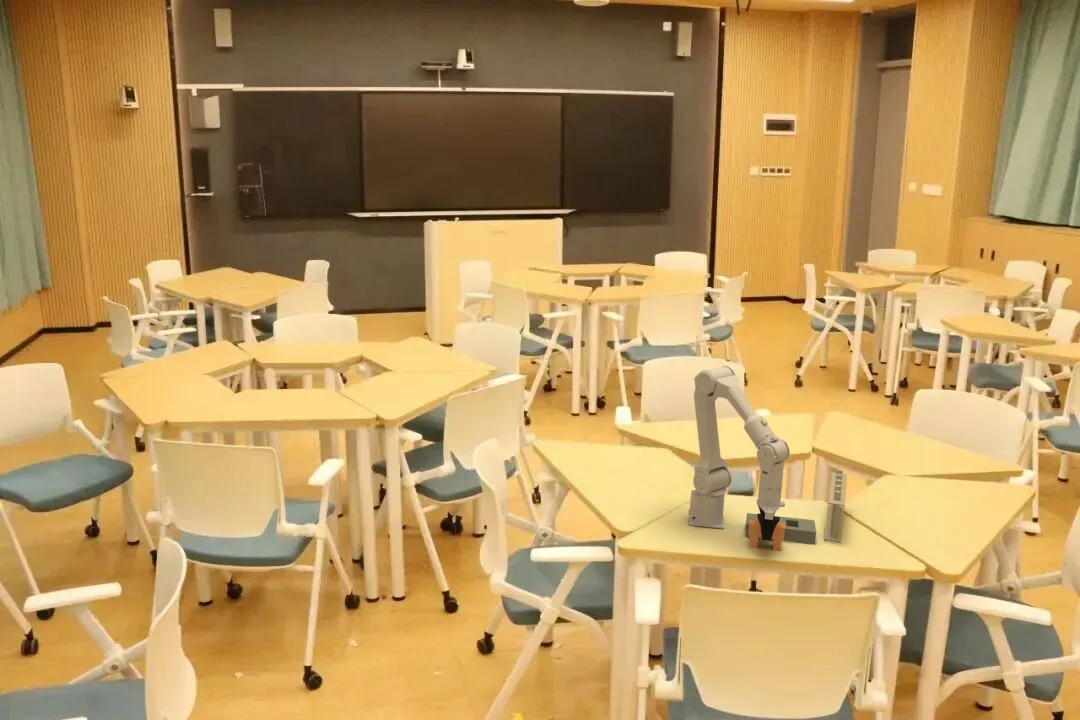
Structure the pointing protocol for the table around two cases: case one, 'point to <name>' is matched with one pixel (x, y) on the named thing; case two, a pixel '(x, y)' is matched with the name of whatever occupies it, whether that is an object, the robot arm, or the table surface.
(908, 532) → the table surface
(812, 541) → the socket rail
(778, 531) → the orange c-shaped bracket
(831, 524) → the test tube rack
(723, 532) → the table surface
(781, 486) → the robot arm
